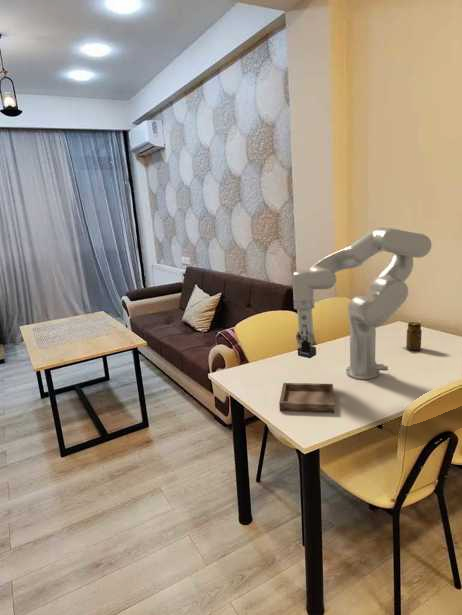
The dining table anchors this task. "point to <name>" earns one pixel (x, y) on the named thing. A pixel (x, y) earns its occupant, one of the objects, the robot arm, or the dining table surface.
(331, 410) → the tray
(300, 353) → the watch
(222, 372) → the dining table surface
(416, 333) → the condiment
